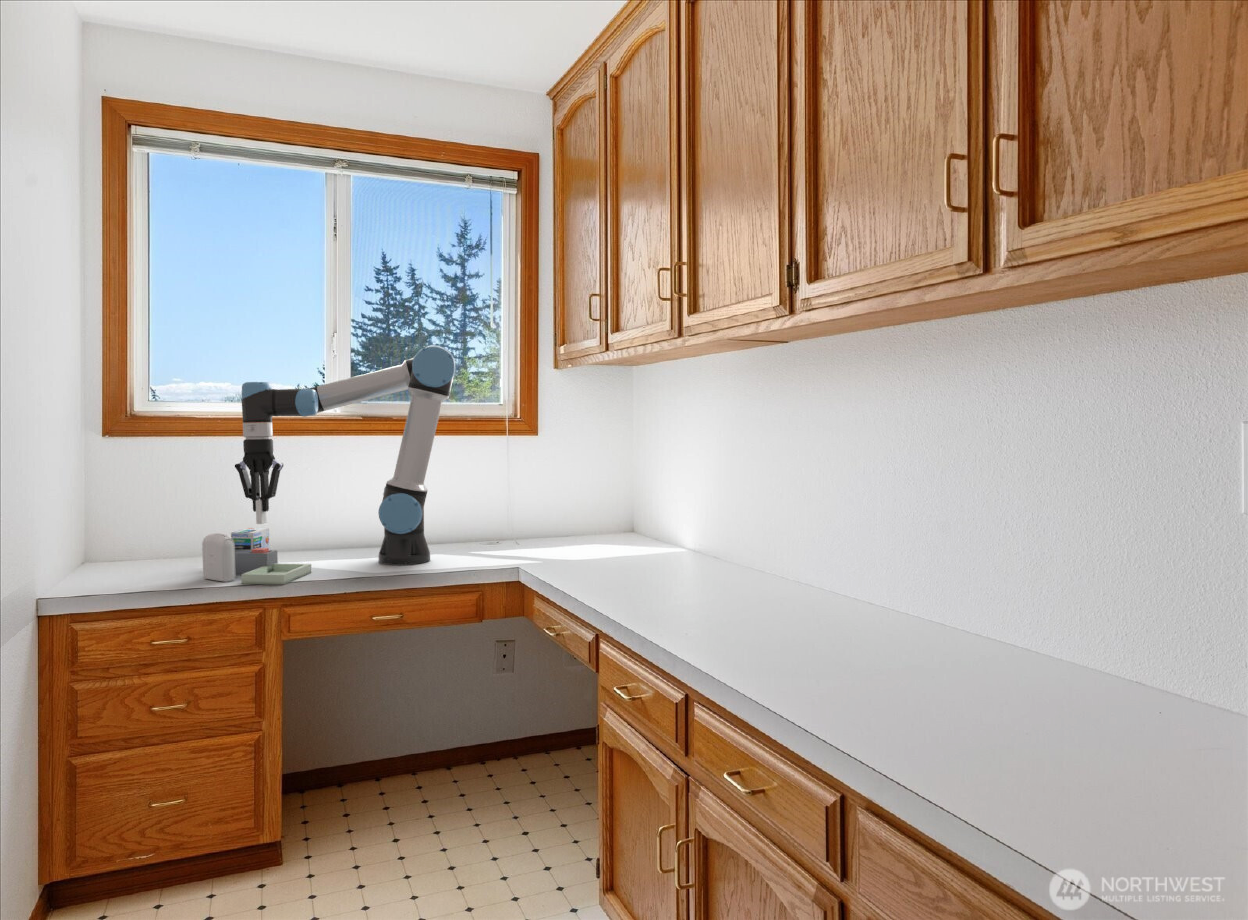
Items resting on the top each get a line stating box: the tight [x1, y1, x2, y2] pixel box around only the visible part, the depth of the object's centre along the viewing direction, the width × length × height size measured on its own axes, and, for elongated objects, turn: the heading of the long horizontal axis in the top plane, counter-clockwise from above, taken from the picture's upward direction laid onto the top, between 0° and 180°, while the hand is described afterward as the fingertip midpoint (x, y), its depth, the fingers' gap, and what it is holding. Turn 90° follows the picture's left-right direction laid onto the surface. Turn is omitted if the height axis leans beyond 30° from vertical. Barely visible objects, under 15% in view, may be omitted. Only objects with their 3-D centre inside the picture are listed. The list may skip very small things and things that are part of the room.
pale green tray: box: [240, 563, 312, 586], centre depth 226 cm, size 11×16×2 cm
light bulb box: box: [230, 527, 270, 550], centre depth 242 cm, size 11×7×11 cm, turn 179°
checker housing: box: [235, 549, 278, 576], centre depth 233 cm, size 14×6×6 cm, turn 87°
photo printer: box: [201, 532, 237, 583], centre depth 223 cm, size 10×4×12 cm, turn 57°
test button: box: [252, 547, 270, 553], centre depth 232 cm, size 3×3×5 cm
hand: (261, 523), depth 232 cm, fingers closed
